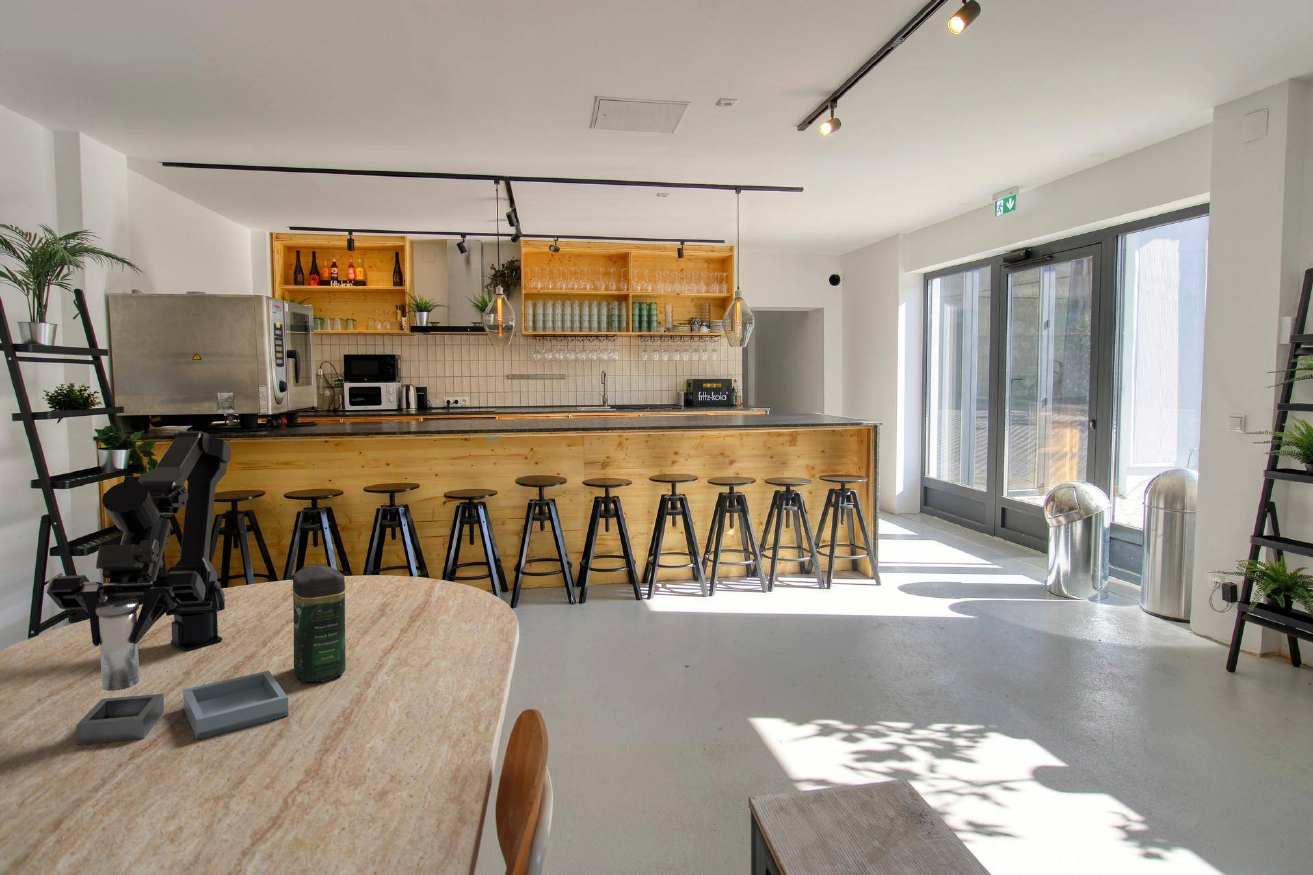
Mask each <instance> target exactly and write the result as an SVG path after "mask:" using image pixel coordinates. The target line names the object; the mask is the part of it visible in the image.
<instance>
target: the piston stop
mask: <svg viewBox="0 0 1313 875" xmlns="http://www.w3.org/2000/svg"><path fill="white" fill-rule="evenodd" d="M139 608H140V602H139V599H137V598H132V597H131V598H130V597H126V598H125V597H124V598H123V597H122V598H115V599H110V600H106V601H105V602H102V603H100V604H98V605H96V615H98V616H99V634H100V644H99V648H100V649H99V651H100V652H99V653H100V655H99V656H100V674H101V676H100V677H101V689H102V690H104V691H109V692H112V691H113V692H114V691H120V690H121V691H122V690H125V689H130V688H132V687H134V686H136V685H137V684H139V683H140V663H139V660H140V659H139V642H138V643H137V644H134V643H133V642H132V637H133V632H134V628H135V626H136V623H137V620H138V617H137V616H138V610H139Z"/></svg>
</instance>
